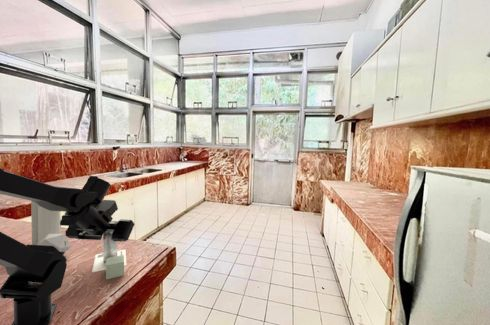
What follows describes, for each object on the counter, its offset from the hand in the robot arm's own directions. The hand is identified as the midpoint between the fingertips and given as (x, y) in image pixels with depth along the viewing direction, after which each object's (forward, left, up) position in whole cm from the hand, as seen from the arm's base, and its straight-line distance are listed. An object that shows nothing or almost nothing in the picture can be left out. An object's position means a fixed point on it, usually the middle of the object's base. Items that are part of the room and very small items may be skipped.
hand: (113, 239), depth 72 cm
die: (+9, +17, -7) cm, 21 cm away
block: (-11, -1, -7) cm, 13 cm away
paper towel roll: (+18, +20, -7) cm, 28 cm away
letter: (-1, +1, -7) cm, 7 cm away
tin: (-1, +1, -6) cm, 7 cm away
